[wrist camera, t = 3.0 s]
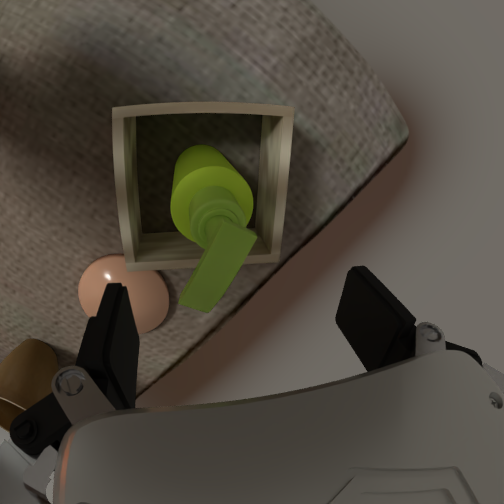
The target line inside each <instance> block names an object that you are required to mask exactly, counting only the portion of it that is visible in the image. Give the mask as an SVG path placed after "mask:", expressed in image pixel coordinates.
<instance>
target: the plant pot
mask: <svg viewBox="0 0 504 504" xmlns="http://www.w3.org/2000/svg"><path fill="white" fill-rule="evenodd" d="M58 371H59V369H58V361H57V356H56V354H55V353H54V351H53V350H52V349H51V348H50V347H49V346H48V345H47V344H45V343H44V342H42V341H40V340H37V339H27V340H25V341H24V342H22V343H21V344H20V345H19V346H18V347H16V348H15V349H14V350H13V351H12V352H11V353H10V354H9V355H8V356H7V357H6V358H5V359H4V360H3V361H2V362H1V363H0V427H1V428H3V429H4V430H6V431H7V432H9V433H10V425H11V423H12V421H13V419H14V418H16V417H17V416H18V415H19V414H21V413H22V412H24V411H25V410H27V409H28V408H30V407H31V406H33V405H34V404H35V403H37V402H38V401H40V400H41V399H43V398H44V397H46V396H47V395H49V394H50V393H52V392H53V391H52V388H51V384H52V379H53V377H54V375H55V374H56V373H57V372H58Z"/></svg>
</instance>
